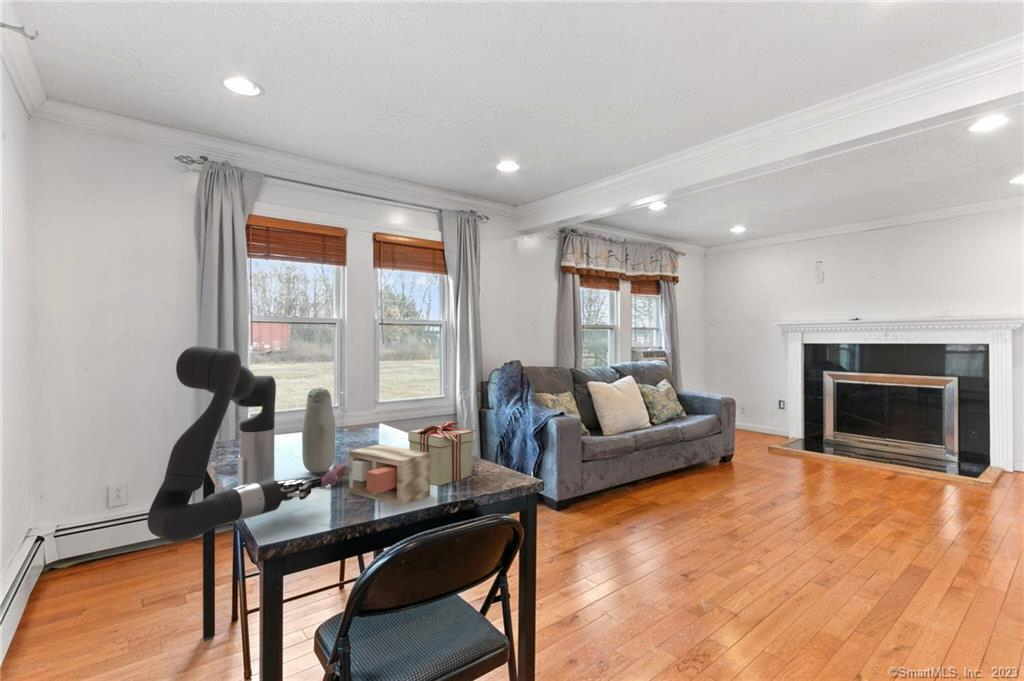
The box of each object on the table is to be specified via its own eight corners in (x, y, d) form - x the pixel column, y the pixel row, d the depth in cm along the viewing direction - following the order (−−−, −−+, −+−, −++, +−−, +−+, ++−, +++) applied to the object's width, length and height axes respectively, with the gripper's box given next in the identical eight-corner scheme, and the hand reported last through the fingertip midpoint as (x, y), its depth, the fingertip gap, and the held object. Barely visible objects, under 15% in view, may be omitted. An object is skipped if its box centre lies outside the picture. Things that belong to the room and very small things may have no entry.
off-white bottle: (297, 472, 163) (297, 388, 163) (327, 466, 170) (327, 386, 170) (309, 478, 156) (309, 390, 156) (340, 472, 163) (340, 388, 163)
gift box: (450, 489, 144) (450, 430, 144) (404, 479, 154) (405, 425, 154) (484, 475, 159) (484, 422, 159) (440, 467, 169) (440, 418, 169)
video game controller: (327, 494, 145) (337, 473, 144) (314, 486, 145) (324, 465, 145) (344, 484, 154) (354, 465, 154) (333, 477, 155) (342, 458, 155)
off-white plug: (361, 481, 136) (361, 463, 136) (352, 479, 138) (352, 461, 138) (383, 474, 143) (383, 457, 143) (374, 472, 145) (374, 456, 145)
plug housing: (401, 506, 129) (401, 460, 129) (349, 492, 141) (349, 451, 141) (429, 495, 138) (430, 453, 138) (379, 483, 150) (379, 444, 150)
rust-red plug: (376, 493, 125) (377, 474, 125) (366, 490, 128) (366, 471, 128) (400, 485, 132) (400, 467, 132) (389, 483, 134) (389, 465, 134)
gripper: (270, 487, 109) (336, 470, 124) (239, 478, 117) (304, 463, 131) (270, 521, 109) (336, 500, 124) (238, 510, 117) (304, 491, 131)
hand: (319, 481), depth 127 cm, fingers closed
